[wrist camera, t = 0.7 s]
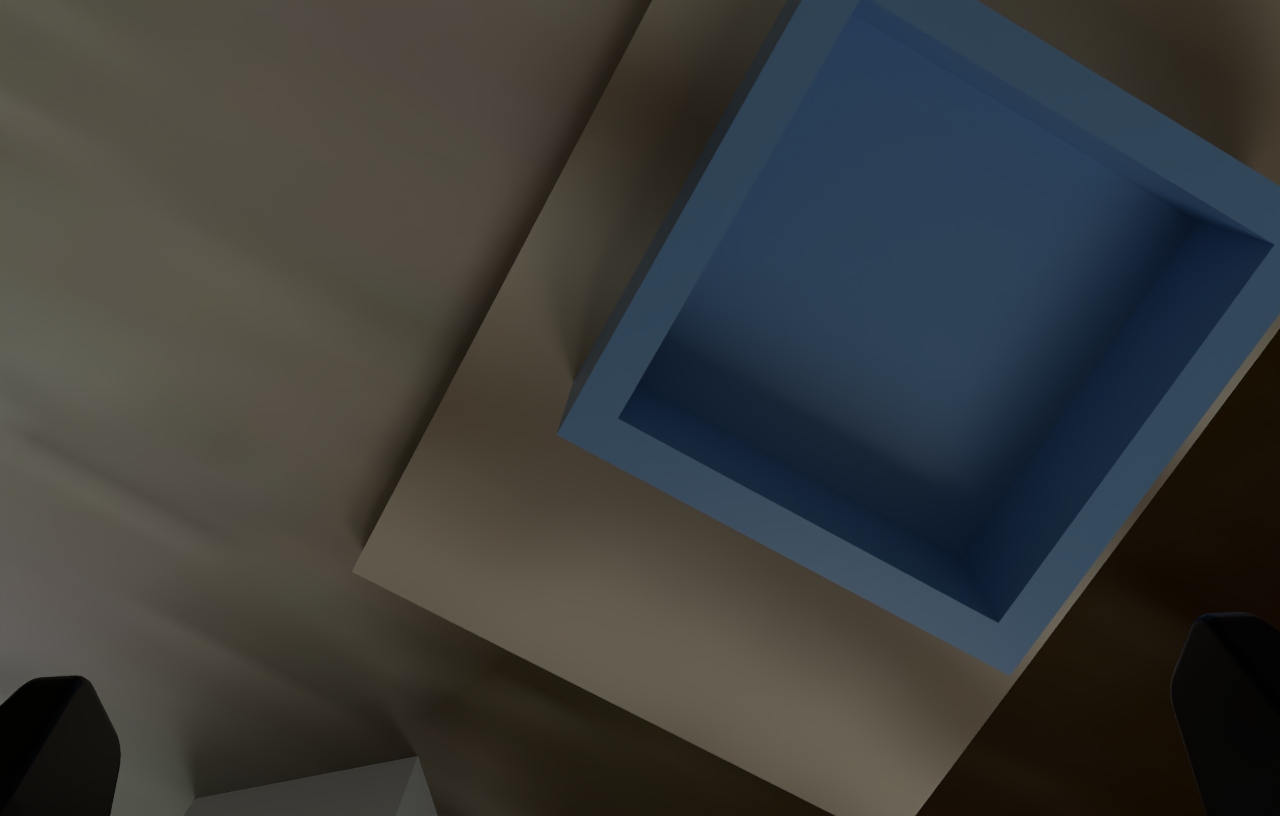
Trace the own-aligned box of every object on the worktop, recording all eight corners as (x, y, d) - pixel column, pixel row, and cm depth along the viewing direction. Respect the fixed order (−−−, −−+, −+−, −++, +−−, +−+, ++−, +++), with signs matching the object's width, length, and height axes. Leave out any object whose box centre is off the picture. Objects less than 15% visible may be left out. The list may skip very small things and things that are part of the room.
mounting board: (885, 817, 27) (893, 844, 26) (363, 553, 26) (351, 571, 25) (1515, -36, 21) (1554, -40, 20) (890, -449, 20) (901, -475, 19)
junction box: (963, 592, 24) (1010, 675, 21) (573, 381, 23) (556, 434, 20) (1241, 201, 22) (1344, 226, 18) (818, -57, 21) (847, -81, 17)
